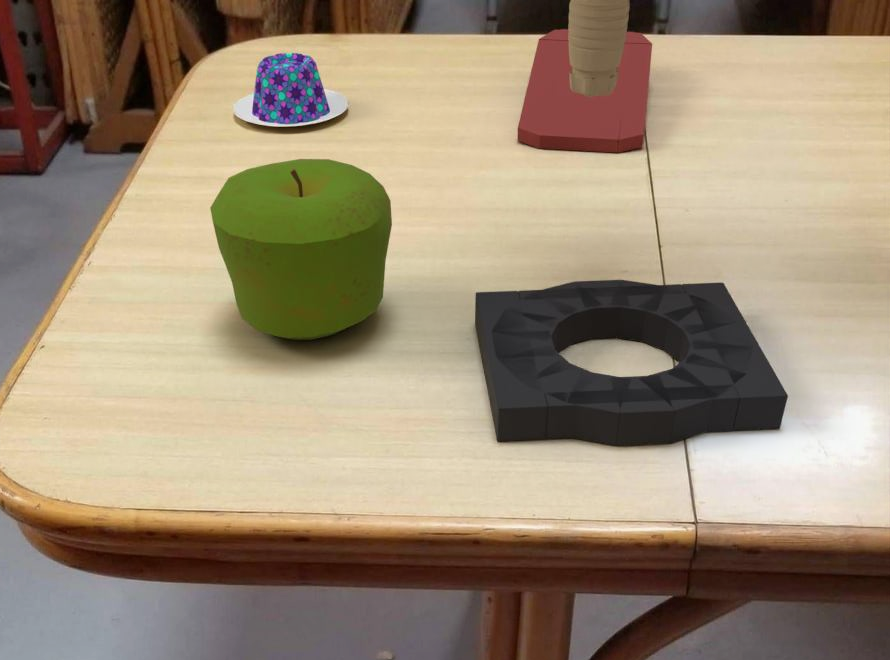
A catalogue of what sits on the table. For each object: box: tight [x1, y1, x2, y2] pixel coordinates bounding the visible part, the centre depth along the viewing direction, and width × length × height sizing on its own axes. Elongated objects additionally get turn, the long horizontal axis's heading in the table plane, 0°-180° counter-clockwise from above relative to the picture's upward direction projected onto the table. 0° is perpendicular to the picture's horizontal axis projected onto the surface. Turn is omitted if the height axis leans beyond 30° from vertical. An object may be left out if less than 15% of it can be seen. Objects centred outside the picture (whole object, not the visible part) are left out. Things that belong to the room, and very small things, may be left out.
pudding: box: [232, 52, 349, 128], centre depth 110 cm, size 12×12×5 cm
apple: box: [209, 158, 393, 341], centre depth 75 cm, size 12×12×11 cm
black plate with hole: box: [474, 279, 789, 447], centre depth 72 cm, size 18×17×2 cm
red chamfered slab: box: [517, 28, 653, 154], centre depth 112 cm, size 12×5×25 cm
